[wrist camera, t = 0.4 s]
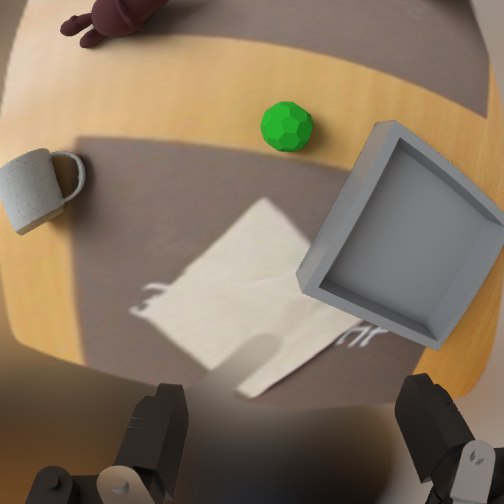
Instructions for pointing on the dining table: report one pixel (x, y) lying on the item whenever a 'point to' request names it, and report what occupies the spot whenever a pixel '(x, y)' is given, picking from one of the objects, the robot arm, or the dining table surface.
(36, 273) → the dining table surface
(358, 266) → the crate
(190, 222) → the dining table surface
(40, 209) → the ceramic mug
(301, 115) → the polyhedron
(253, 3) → the dining table surface
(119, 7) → the icecream
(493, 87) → the dining table surface
